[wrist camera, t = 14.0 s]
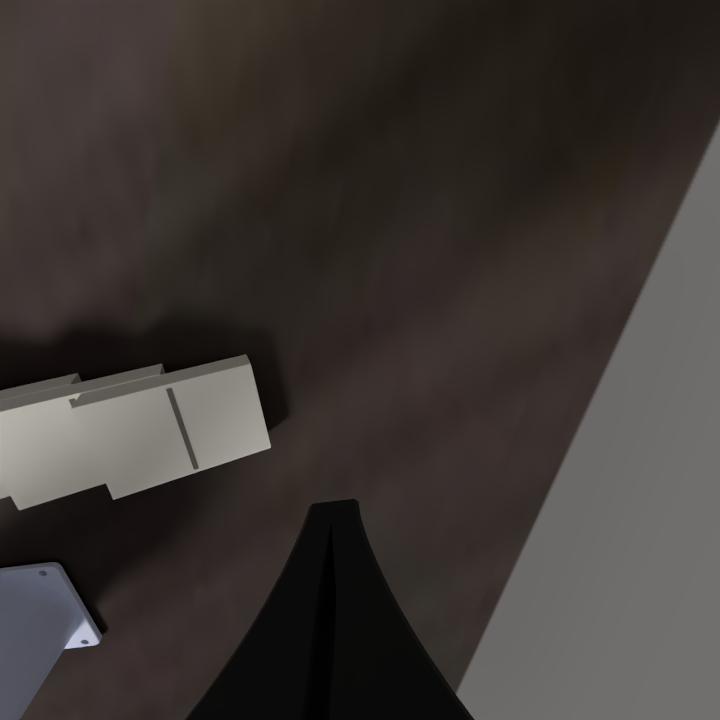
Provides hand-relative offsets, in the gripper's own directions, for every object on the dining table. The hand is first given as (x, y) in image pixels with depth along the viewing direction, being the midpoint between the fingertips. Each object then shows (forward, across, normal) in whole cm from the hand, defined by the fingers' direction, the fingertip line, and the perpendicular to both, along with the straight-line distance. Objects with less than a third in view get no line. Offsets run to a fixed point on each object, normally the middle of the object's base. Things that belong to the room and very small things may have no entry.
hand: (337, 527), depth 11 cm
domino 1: (+10, +9, 0) cm, 13 cm away
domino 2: (+10, +4, 0) cm, 11 cm away
